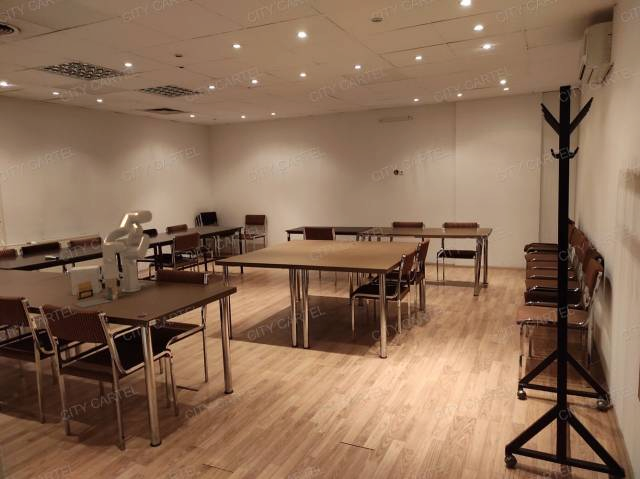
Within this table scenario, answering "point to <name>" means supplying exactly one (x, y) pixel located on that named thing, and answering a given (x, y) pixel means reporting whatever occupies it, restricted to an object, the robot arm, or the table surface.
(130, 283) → the robot arm
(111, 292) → the birch tile
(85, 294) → the ammunition clip
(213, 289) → the table surface
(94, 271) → the supplement box
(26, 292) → the table surface
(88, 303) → the rubber mat
